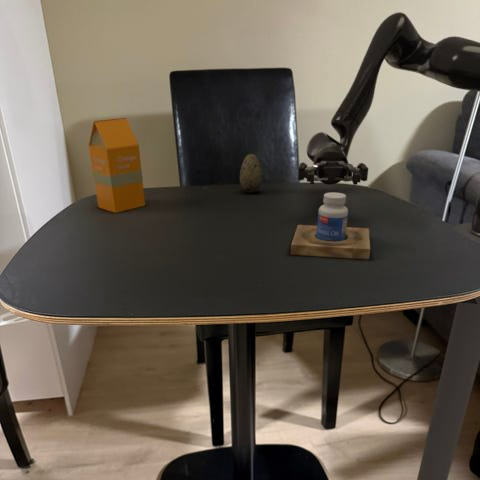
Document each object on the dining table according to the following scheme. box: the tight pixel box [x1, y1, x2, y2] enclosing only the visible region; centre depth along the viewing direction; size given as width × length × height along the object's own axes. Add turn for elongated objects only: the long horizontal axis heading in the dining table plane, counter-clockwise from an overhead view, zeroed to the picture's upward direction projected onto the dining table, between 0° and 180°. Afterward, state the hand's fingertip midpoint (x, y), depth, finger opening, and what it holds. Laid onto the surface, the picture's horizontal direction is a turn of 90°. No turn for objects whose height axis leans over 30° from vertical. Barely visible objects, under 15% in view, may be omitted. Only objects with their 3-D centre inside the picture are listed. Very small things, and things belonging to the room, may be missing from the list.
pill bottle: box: [316, 191, 349, 242], centre depth 90 cm, size 6×5×10 cm
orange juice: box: [88, 117, 146, 214], centre depth 114 cm, size 8×9×20 cm
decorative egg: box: [239, 153, 263, 194], centre depth 127 cm, size 6×6×10 cm
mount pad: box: [290, 224, 371, 260], centre depth 91 cm, size 14×12×2 cm
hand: (334, 179), depth 95 cm, fingers open, 8 cm apart
